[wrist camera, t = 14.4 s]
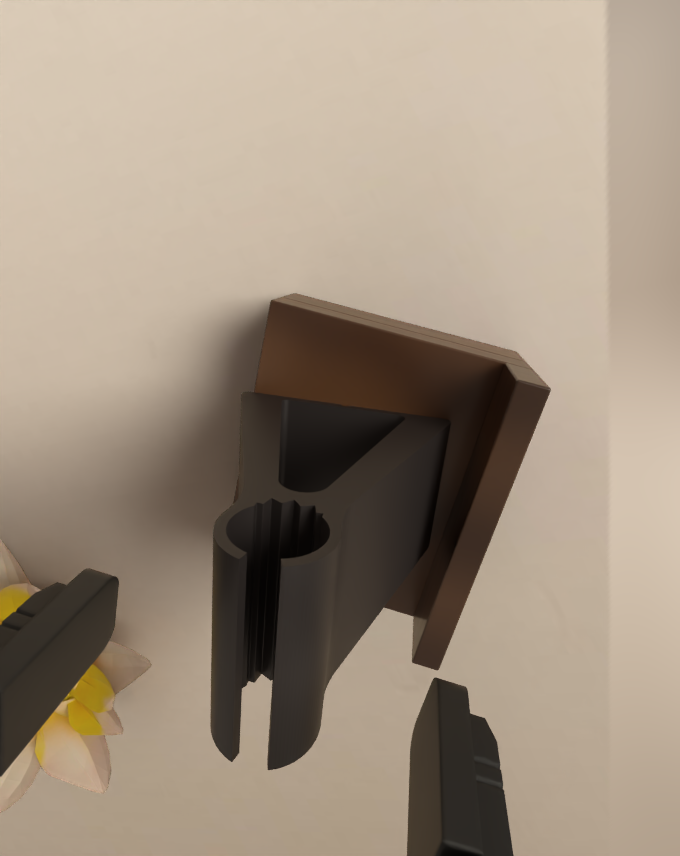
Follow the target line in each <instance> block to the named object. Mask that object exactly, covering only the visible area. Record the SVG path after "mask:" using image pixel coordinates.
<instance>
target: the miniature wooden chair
mask: <svg viewBox="0 0 680 856" xmlns="http://www.w3.org/2000/svg"><path fill="white" fill-rule="evenodd" d="M550 391H551V389H550V387H549V386H548V385H547V384H546V383H545V382H544V381H543V380H542V379H541V378H540V377H539V376H538V374H537V373H536V372H535V371H534V370H533V369H532V368H531V367H530V366H529V365H528V364H527V363H526V362H525V360H524V359H523V358H522V357H521V356H520V355H519V354H518V353H517V352H515V351H512V350H508V349H504V348H500V347H496V346H493V345H489V344H485V343H481V342H478V341H474V340H470V339H466V338H462V337H459V336H455V335H451V334H447V333H443V332H440V331H436V330H432V329H428V328H425V327H421V326H417V325H413V324H409V323H406V322H402V321H398V320H394V319H390V318H387V317H383V316H379V315H375V314H372V313H368V312H364V311H360V310H356V309H353V308H349V307H345V306H341V305H338V304H334V303H330V302H326V301H322V300H319V299H315V298H311V297H307V296H303V295H300V294H296V293H294V294H291V295H288V296H284V297H281V298H277V299H274V300H271V302H270V308H269V313H268V319H267V324H266V329H265V335H264V340H263V346H262V351H261V357H260V362H259V367H258V373H257V378H256V384H255V389H254V392H256V393H263V394H270V395H277V396H284V397H291V398H299V399H306V400H313V401H320V402H327V403H335V404H341V405H342V406H356V407H363V408H370V409H378V410H385V411H392V412H399V413H406V414H414V415H421V416H428V417H435V418H442V419H446V420H449V421H450V422H451V426H450V431H449V437H448V443H447V448H446V454H445V459H444V465H443V470H442V476H441V482H440V487H439V493H438V498H437V504H436V510H435V515H434V521H433V526H432V532H431V538H430V543H429V548H428V549H427V551H426V552H425V553H424V554H423V556H422V557H421V558H420V560H419V561H418V562H417V564H416V565H415V566H414V568H413V569H412V570H411V572H410V573H409V574H408V576H407V577H406V578H405V580H404V581H403V582H402V584H401V585H400V586H399V588H398V589H397V590H396V592H395V593H394V594H393V596H392V597H391V598H390V600H389V601H388V602H387V604H386V605H385V606H384V608H388V609H391V610H394V611H397V612H401V613H404V614H407V615H410V616H414V619H413V648H412V662H413V663H415V664H418V665H421V666H425V667H428V668H431V669H434V670H439V668H440V665H441V663H442V660H443V658H444V655H445V653H446V650H447V648H448V645H449V643H450V640H451V638H452V635H453V633H454V630H455V628H456V625H457V623H458V620H459V618H460V615H461V613H462V610H463V608H464V605H465V603H466V600H467V598H468V595H469V593H470V590H471V588H472V585H473V583H474V580H475V578H476V575H477V573H478V570H479V568H480V566H481V563H482V561H483V558H484V556H485V553H486V551H487V548H488V546H489V543H490V541H491V538H492V536H493V533H494V531H495V528H496V526H497V523H498V521H499V518H500V516H501V513H502V511H503V508H504V506H505V503H506V501H507V498H508V496H509V493H510V491H511V488H512V486H513V483H514V481H515V478H516V476H517V473H518V471H519V468H520V466H521V463H522V461H523V458H524V456H525V453H526V451H527V448H528V446H529V443H530V441H531V438H532V436H533V433H534V431H535V428H536V426H537V423H538V421H539V418H540V416H541V413H542V411H543V408H544V406H545V403H546V401H547V398H548V396H549V393H550ZM238 487H239V476H238V481H237V487H236V492H235V498H234V503H235V502H236V501H237V499H238ZM234 503H233V504H234Z"/></svg>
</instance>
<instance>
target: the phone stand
mask: <svg viewBox="0 0 680 856" xmlns="http://www.w3.org/2000/svg"><path fill="white" fill-rule="evenodd" d="M450 426H451V422H450V421H449V420H446V419H442V418H435V417H428V416H421V415H414V414H406V413H399V412H392V411H385V410H378V409H370V408H363V407H356V406H342V405H341V404H335V403H327V402H320V401H313V400H306V399H299V398H291V397H284V396H277V395H270V394H263V393H256V392H244V393H242V394H241V425H240V456H239V487H238V499H237V501H236V502H235V503H234V504H233V505H232V506H231V507H230V508H229V509H228V510H226V511H225V512H224V513H223V514H222V515H221V516H220V517H219V518H218V519H217V521H216V522H215V525H214V529H213V594H212V663H211V733H212V737H213V740H214V742H215V744H216V746H217V748H218V749H219V751H220V752H221V753H222V754H223V755H224V756H225V757H226V758H227V759H228V760H230V761H231V762H232V761H233V760H234V759H235V758H236V756H237V755H238V754H239V743H240V718H241V694H242V688H243V687H245V686H246V685H247V683H248V681H251V682H255V681H256V680H257V679H258V677H259V676H260V675H261V674H263V675H264V676H265V677H267V678H268V679H269V680H273V684H272V699H271V714H270V729H269V744H268V770H273V769H278V768H281V767H284V766H287V765H289V764H291V763H293V762H295V761H296V760H298V759H299V758H301V757H302V756H303V755H304V754H305V753H306V752H307V751H308V750H309V749H310V748H311V746H312V745H313V744H314V742H315V740H316V738H317V736H318V733H319V730H320V726H321V717H322V708H323V699H324V693H325V690H326V687H327V685H328V683H329V681H330V679H331V677H332V676H333V674H334V673H335V671H336V670H337V669H338V667H339V666H340V665H341V663H342V662H343V661H344V659H345V658H346V657H347V655H348V654H349V653H350V651H351V650H352V649H353V647H354V646H355V645H356V643H357V642H358V641H359V640H360V638H361V637H362V636H363V634H364V633H365V632H366V630H367V629H368V628H369V626H370V625H371V624H372V622H373V621H374V620H375V618H376V617H377V616H378V614H379V613H380V612H381V610H382V609H383V608H384V606H385V605H386V604H387V602H388V601H389V600H390V598H391V597H392V596H393V594H394V593H395V592H396V590H397V589H398V588H399V586H400V585H401V584H402V582H403V581H404V580H405V578H406V577H407V576H408V574H409V573H410V572H411V570H412V569H413V568H414V566H415V565H416V564H417V562H418V561H419V560H420V558H421V557H422V556H423V554H424V553H425V552H426V551H427V549H428V548H429V543H430V538H431V532H432V526H433V521H434V515H435V510H436V504H437V498H438V493H439V487H440V482H441V476H442V470H443V465H444V459H445V454H446V448H447V443H448V437H449V431H450Z"/></svg>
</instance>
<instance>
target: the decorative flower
mask: <svg viewBox="0 0 680 856" xmlns="http://www.w3.org/2000/svg"><path fill="white" fill-rule="evenodd" d="M38 591H41V590H40V589H38V588H36V587H35V586H33V585H32V584H31V583H30V581H29V580H28V578H27V576H26V575H25V573H24V572H23V570H22V568H21V567H20V565H19V563H18V562H17V561H16V559H15V558H14V556H13V555H12V554H11V552H10V551H9V550H8V548H7V547H6V545H5V544H4V543H3V542H2V541H1V540H0V625H1V624H2V621H3V620H5V619H6V618H7V617H8V616H9V615H10V614H11V613H13V612H16V610H17V608H18V607H19V606H21V605H22V604H23V603H24V602H25V601H26V600H27V599H29V598H30V597H31V596H32V595H33V594H34V593H36V592H38ZM150 667H151V663H150V661H149V660H148V659H147V658H145V657H143V656H142V655H140V654H138V653H137V652H135V651H133V650H132V649H129V648H127V647H125V646H122V645H120V644H118V643H115V642H112V641H110V640H109V642H108V644H107V646H106V647H105V649H104V650H103V652H102V653H101V654H100V655H99V657H98V658H97V659H96V660H95V661H94V663H93V664H92V665H91V666H90V668H89V669H88V670H87V671H86V673H85V674H84V675H83V676H82V678H81V679H80V680H79V681H78V683H77V684H76V685H75V686H74V687H73V689H72V690H71V691H70V692H69V694H68V695H67V696H66V697H65V699H64V700H63V701H62V702H61V704H60V705H59V706H58V707H57V709H56V710H55V711H54V712H53V713H52V715H51V716H50V717H49V718H48V720H47V721H46V722H45V723H44V725H43V726H42V727H41V728H40V730H39V731H38V732H37V733H36V735H35V736H34V737H33V738H32V739H31V741H30V742H29V743H28V744H27V746H26V747H25V748H24V749H23V751H22V752H21V753H20V754H19V756H18V757H17V758H16V759H15V761H14V762H13V763H12V764H11V765H10V767H9V768H8V769H7V770H6V772H5V773H4V774H3V775H2V777H1V776H0V813H1V812H3V811H5V810H7V809H8V808H10V807H11V806H12V805H13V804H14V803H15V802H17V801H18V800H19V799H20V798H21V797H22V796H23V795H24V793H25V792H26V791H27V790H28V788H29V787H30V786H31V785H32V783H33V781H34V779H35V777H36V775H37V773H38V771H39V769H40V767H42V768H43V769H44V770H45V772H46V773H47V774H48V775H49V776H52V777H55V778H57V779H60V780H63V781H65V782H68V783H71V784H73V785H76V786H79V787H82V788H85V789H87V790H90V791H93V792H98V793H102V794H104V793H105V791H106V790H107V788H108V785H109V780H110V775H111V764H110V755H109V750H108V746H107V742H106V739H105V735H117V734H123V727H122V725H121V722H120V719H119V717H118V715H117V714H116V712H115V711H114V709H113V707H112V706H113V703H114V699H115V695H116V694H117V693H118V692H120V691H121V690H122V689H124V688H125V687H126V686H128V685H129V684H130V683H132V682H133V681H134V680H136V679H137V678H138V677H139V676H141V675H142V674H143V673H144V672H145V671H147V670H148V669H149V668H150Z"/></svg>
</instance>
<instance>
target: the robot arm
mask: <svg viewBox="0 0 680 856" xmlns="http://www.w3.org/2000/svg"><path fill="white" fill-rule="evenodd" d="M118 586H119V581H118V578H117V577H115V576H112V575H108V574H105V573H102V572H99V571H96V570H92V569H89V568H88V569H85V570H83V571H82V572H81V573H80V574H79V575H78V576H77V577H75V578H74V579H73V580H72V581H71V582H70V583H69V584H68V585H64V584H61V583H56V584H53V585H51V586H49V587H47V588H45V589H43V590H41V591H38V592H36V593H34V594H33V595H32V596H31V597H30V598H29V599H27V600H26V601H25V602H24V603H23V604H22V605H21V606H19V607H18V608H17V610H16V612H13V613H11V614H10V615H9V616H8V617H7V618H6V619H5V620H3V621H2V624H1V625H0V776H1V777H2V775H3V774H4V773H5V772H6V770H7V769H8V768H9V767H10V765H11V764H12V763H13V762H14V761H15V759H16V758H17V757H18V756H19V754H20V753H21V752H22V751H23V749H24V748H25V747H26V746H27V744H28V743H29V742H30V741H31V739H32V738H33V737H34V736H35V735H36V733H37V732H38V731H39V730H40V728H41V727H42V726H43V725H44V723H45V722H46V721H47V720H48V718H49V717H50V716H51V715H52V713H53V712H54V711H55V710H56V709H57V707H58V706H59V705H60V704H61V702H62V701H63V700H64V699H65V697H66V696H67V695H68V694H69V692H70V691H71V690H72V689H73V687H74V686H75V685H76V684H77V683H78V681H79V680H80V679H81V678H82V676H83V675H84V674H85V673H86V671H87V670H88V669H89V668H90V666H91V665H92V664H93V663H94V661H95V660H96V659H97V658H98V657H99V655H100V654H101V653H102V652H103V650H104V649H105V647H106V646H107V644H108V642H109V640H110V638H111V635H112V633H113V630H114V626H115V617H116V606H117V596H118ZM407 856H513V850H512V843H511V836H510V829H509V822H508V815H507V809H506V802H505V795H504V790H503V781H502V774H501V770H500V760H499V753H498V746H497V741H496V739H495V737H494V735H493V733H492V731H491V729H490V727H489V725H488V723H487V721H486V719H485V718H482V717H479V716H476V715H473V714H470V709H469V698H468V691H467V688H466V687H464V686H461V685H458V684H455V683H451V682H448V681H445V680H442V679H439V678H434V679H433V681H432V683H431V685H430V688H429V690H428V693H427V695H426V698H425V700H424V703H423V705H422V708H421V710H420V713H419V715H418V718H417V720H416V723H415V727H414V730H413V735H412V741H411V749H410V777H409V809H408V841H407Z"/></svg>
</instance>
